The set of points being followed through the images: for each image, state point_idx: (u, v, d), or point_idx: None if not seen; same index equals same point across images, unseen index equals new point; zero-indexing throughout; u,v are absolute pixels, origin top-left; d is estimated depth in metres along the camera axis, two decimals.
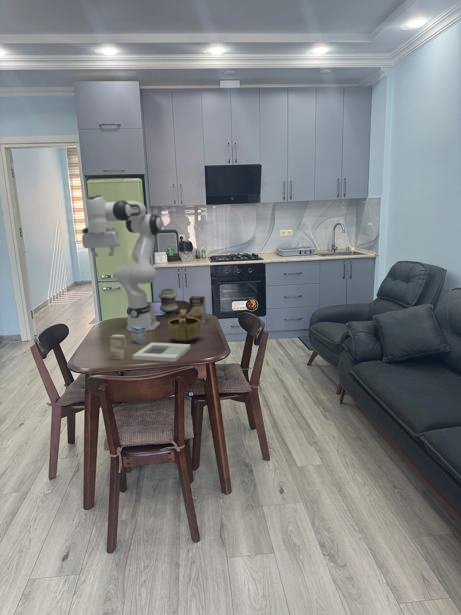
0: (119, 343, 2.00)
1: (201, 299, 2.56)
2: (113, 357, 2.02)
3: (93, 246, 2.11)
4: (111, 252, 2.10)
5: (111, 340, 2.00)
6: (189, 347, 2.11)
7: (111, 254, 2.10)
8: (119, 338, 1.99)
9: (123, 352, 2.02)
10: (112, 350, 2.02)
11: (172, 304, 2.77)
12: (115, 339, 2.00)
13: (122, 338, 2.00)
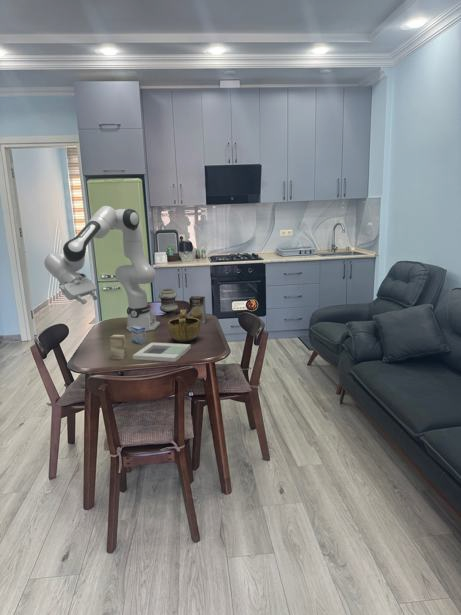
0: (119, 343, 2.00)
1: (201, 299, 2.56)
2: (113, 357, 2.02)
3: None
4: (80, 301, 1.96)
5: (111, 340, 2.00)
6: (189, 347, 2.11)
7: (82, 303, 1.96)
8: (119, 338, 1.99)
9: (123, 352, 2.02)
10: (112, 350, 2.02)
11: (172, 304, 2.77)
12: (115, 339, 2.00)
13: (122, 338, 2.00)
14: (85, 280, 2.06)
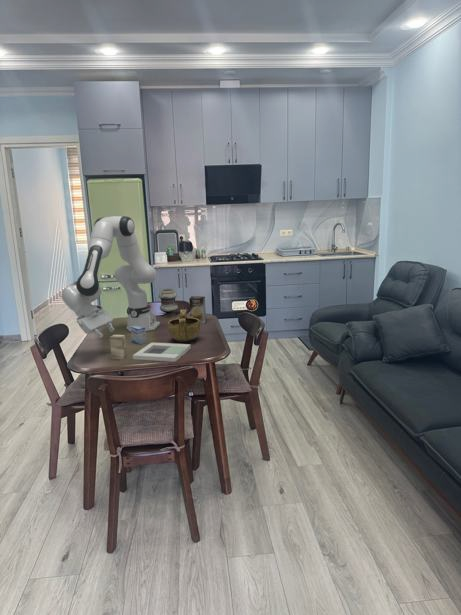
0: (119, 343, 2.00)
1: (201, 299, 2.56)
2: (113, 357, 2.02)
3: None
4: (97, 335, 1.97)
5: (111, 340, 2.00)
6: (189, 347, 2.11)
7: (99, 336, 1.98)
8: (119, 338, 1.99)
9: (123, 352, 2.02)
10: (112, 350, 2.02)
11: (172, 304, 2.77)
12: (115, 339, 2.00)
13: (122, 338, 2.00)
14: (102, 312, 2.08)
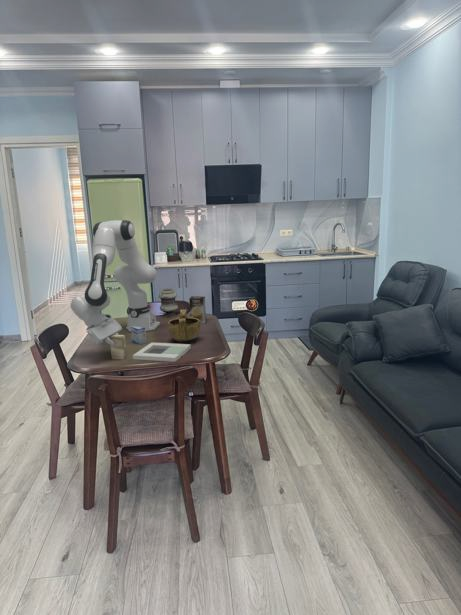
0: (119, 343, 2.00)
1: (201, 299, 2.56)
2: (113, 357, 2.02)
3: None
4: (109, 343, 1.99)
5: None
6: (189, 347, 2.11)
7: (111, 344, 1.99)
8: (119, 338, 1.99)
9: (123, 352, 2.02)
10: (112, 350, 2.02)
11: (172, 304, 2.77)
12: (115, 339, 2.00)
13: (122, 338, 2.00)
14: (111, 321, 2.07)
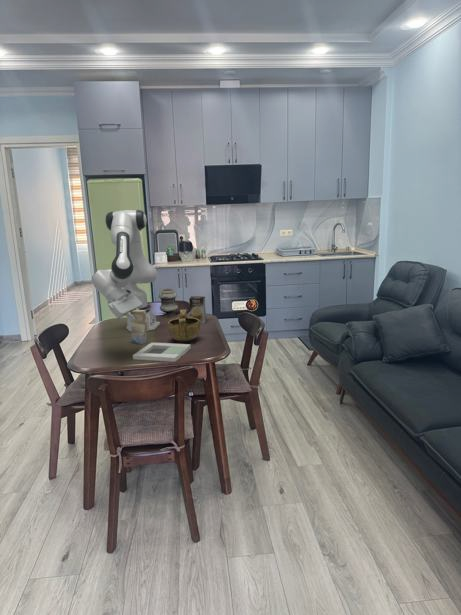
0: (140, 318, 1.97)
1: (201, 299, 2.56)
2: (134, 332, 2.00)
3: None
4: (130, 318, 1.97)
5: None
6: (189, 347, 2.11)
7: (132, 319, 1.97)
8: (140, 313, 1.97)
9: (144, 327, 1.99)
10: (133, 325, 1.99)
11: (172, 304, 2.77)
12: (136, 314, 1.97)
13: (143, 313, 1.98)
14: (131, 296, 2.05)
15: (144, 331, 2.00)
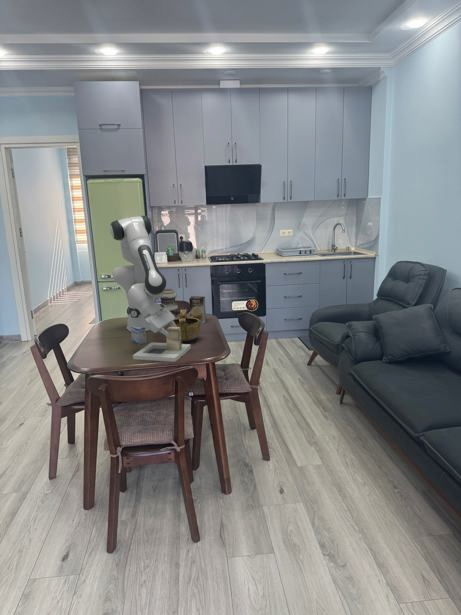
0: (175, 335, 2.00)
1: (201, 299, 2.56)
2: (169, 349, 2.03)
3: None
4: (164, 333, 1.98)
5: None
6: (189, 347, 2.11)
7: (165, 335, 1.98)
8: (176, 330, 2.00)
9: (179, 344, 2.02)
10: (168, 342, 2.02)
11: (172, 304, 2.77)
12: (171, 331, 2.01)
13: (178, 330, 2.01)
14: (165, 310, 2.08)
15: (179, 348, 2.03)
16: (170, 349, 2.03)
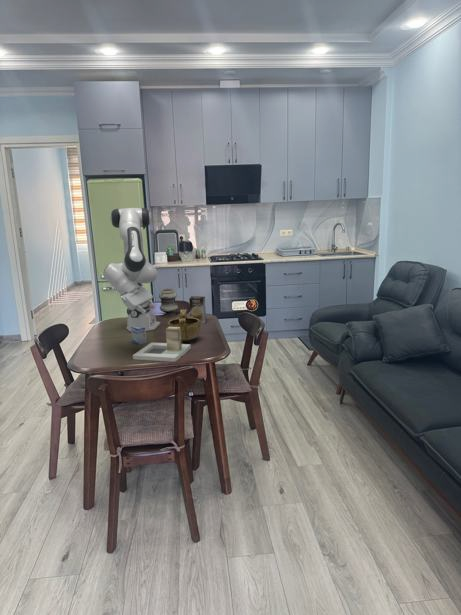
0: (175, 335, 2.00)
1: (201, 299, 2.56)
2: (169, 349, 2.03)
3: None
4: (140, 311, 1.99)
5: (167, 332, 2.01)
6: (189, 347, 2.11)
7: (142, 312, 1.99)
8: (176, 330, 2.00)
9: (179, 344, 2.02)
10: (168, 342, 2.02)
11: (172, 304, 2.77)
12: (171, 331, 2.01)
13: (178, 330, 2.01)
14: (142, 289, 2.09)
15: (179, 348, 2.03)
16: (170, 349, 2.03)
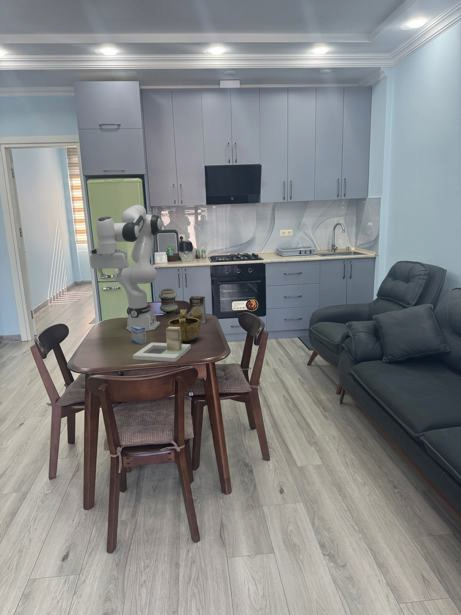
0: (175, 335, 2.00)
1: (201, 299, 2.56)
2: (169, 349, 2.03)
3: (101, 267, 2.11)
4: (119, 273, 2.10)
5: (167, 332, 2.01)
6: (189, 347, 2.11)
7: (119, 275, 2.11)
8: (176, 330, 2.00)
9: (179, 344, 2.02)
10: (168, 342, 2.02)
11: (172, 304, 2.77)
12: (171, 331, 2.01)
13: (178, 330, 2.01)
14: None
15: (179, 348, 2.03)
16: (170, 349, 2.03)
